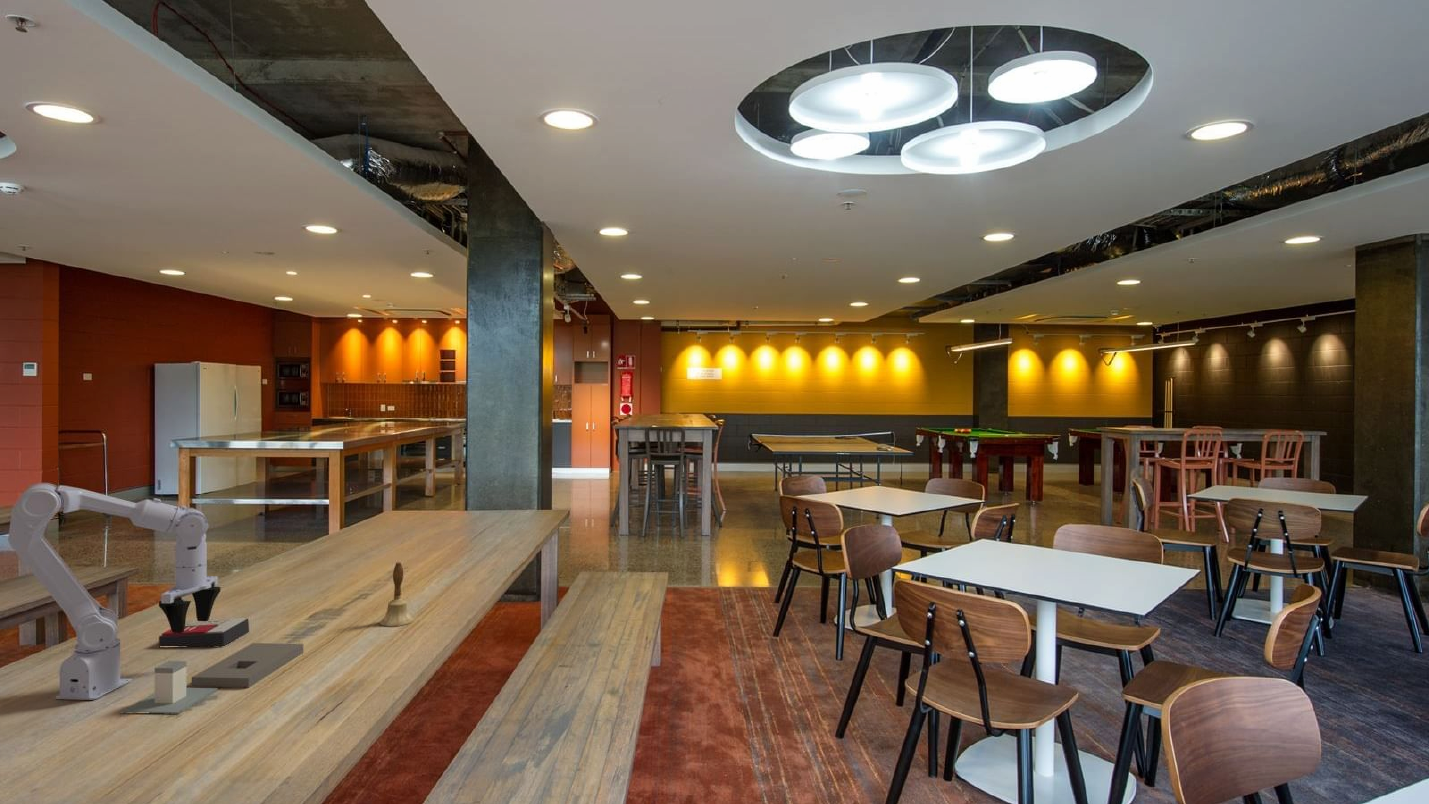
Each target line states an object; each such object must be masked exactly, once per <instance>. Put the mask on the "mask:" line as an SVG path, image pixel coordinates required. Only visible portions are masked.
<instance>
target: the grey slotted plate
mask: <svg viewBox="0 0 1429 804" xmlns="http://www.w3.org/2000/svg"><path fill="white" fill-rule="evenodd" d="M303 653H304V643H267V642H266V643H264V642H263V643H261V642H260V643H259V642H258V643H257V642H252V643H251V644H249V645H247V646H245V647H243V648H242V649H239V650H238V651H237V652H234V653H233V654H230V655H229V656H227V657H225V658H222V660H220V661H218V662H217V663H214V664H212V665H211V666H209V667H207V668H206V669H204V670H202V671H200V672H198V673H196V674H195V675H192V676H191V687H192V686H197V687H196V688H236V687H246V688H247V689H248V688H250V686H251V687H253V686H254V685H256V684H257V683H258V682H259V680H260V681H261V679H262V678H263V679H264V677H265V678H266V677H268V676H269V675H271V674H272V673H274V672H276V671H277V670H279V669H280V668H282V667H283V666H285V665H286V664H288V663H289V662H290V661H292V660H294V659H296V658H298V657H299V656H300V655H301V654H303ZM276 669H277V670H276ZM263 679H262V680H263ZM246 688H245V689H246Z"/></svg>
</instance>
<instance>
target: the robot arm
mask: <svg viewBox="0 0 1429 804" xmlns="http://www.w3.org/2000/svg"><path fill="white" fill-rule="evenodd" d="M60 509H63V511H62V512H63V514H67V513H71V512H76V511H80V510H86V511H90V512H91V511H93V512H97V513H102V514H107V515H112V516H113V515H114V516H119V517H124V518H129V519H130V521H131V523H132V525H133V526H136V527H138V528H139V527H140V528H144V529H149V530H155V531H158V532H162V533H169V534H170V533H175V534H176V535H175V537H176V538H175V545H174V586H172V587H171V588H170V589H169V590H167V591H166V592H164V593H162V594H161V596H160V599H161V600H159V601H158V607H159V608H160V609H161V610H162V612H163V613H164V615H165V616H166V619H167V621H168V624H169V626H170V629H171V630H172V633H182V632H184V629H185V622H186V619H187V613H188V610H189V608H190V607H189V606H190V605H191V603H192V601H191V600H184V597H187V596H190V595H191V596H192V598H193V601H194V605H195V606H194V607H195V615H196V620H198V621H208V620H210V616H211V613H212V609H213V607H214V604H215V601H216V599H217V598H218V596H219V594H220V592H221V588H222V587H221V586H218V585H219V577H218V576H217V575H216V576H215V575H214V576H213V575H212V576H211V575H208V574H207V573H208V572H207V570H208V568H207V567H208V565H207V564H208V563H207V562H208V561H207V560H208V557H207V556H208V555H207V554H208V553H207V551H208V550H207V547H208V546H207V545H208V544H207V542H206V540H207V534H206V533H207V531H208V529H209V526H210V524H209V523H208V519H207V518H206V516H205V513H203V512H202V511H200V510H199V509H196V508H193V507H187V506H186V505H180V506H176V505H172V504H168V503H164V502H162V499H159V498H156V497H153V499H144V500H141V501H139V502H133V501H129V500H125V499H122V498H118V497H113V496H111V495H107V494H103V493H99V492H95V491H91V490H88V489H84V488H79V487H74V486H69V485H61V484H60V485H59V486H57V485H56V484H52V483H50V482H38V483H35V484H32V485H30V486H29V487H26V489H25V490H24V491H23V492H22V493H21V495H20V496H19V498H18V499H17V500H16V502H15V504H14V506H13V507H12V509H11V510H10V511H11V514H10V522H9V529H8V538H7V541H8V544H9V546H10V547H11V548H12V549H13V550H14V551H15V553H16V554H17V556H18V557H19V558H20V559H21V561H23V563H25V565H26V567H27V568H28V569H29V570H30V572H32V574H33V575H34V576H35V577H36V579H37V580H38V582H40V584H41V585H42V586H43V588H45V590H46V591H47V593H48V594H49V595H50V596H51V597H52V598H53V599H54V601H55V602H56V603H57V605H58V606H59V607H60V609H61V610H62V611H63V613H64V614H65V615H66V617H67V619H68V621H69V623H70V625H71V627H72V628H73V629H74V631H75V633H76V642H77V644H75V645H74V650H73V652H72V653H71V655H70V656H69V657H67V658H66V659H64V660H63V661H62V663H61V665H60V666H59V667H60V668H59V695H56V696H55V699H56V700H77V701H78V700H80V701H81V700H84V701H85V700H87V701H93V700H96V699H99V698H100V697H103V696H104V695H107V694H109V693H110V692H112V691H115V690H116V689H119V688H120V687H122V686H124V685H126V684H129V683H130V682H131V681H132V678H121V639H120V638H118V637H117V636H118V627H117V625H118V617H117V614H116V613H115V612H114V611H113V610H111V609H108V608H106V607H104V606H102V605H101V603H100V602H99V601H98V600H97V599H95V598H94V597H93V596H92V595H91V594H90V593H89V592H88V590H87V589H86V588H85V586H84V585H83V584H82V582H81V581H80V580H79V579H78V577H77V576H76V575H75V573H74V572H73V571H72V570H71V568H70V567H69V566H68V565H67V563H66V562H65V561H64V560H63V559H62V558H63V557H61V556H60V554H59V553H58V552H57V550H56V549H55V548H54V547H53V545H52V544H51V543H50V542H49V540H48V539H47V538H46V537H45V536H44V534H45V530H46V529H47V526H48V524H49V522H50V520H51V519H52V518H53V517H55V515H56V514H57V513H58V512H59V510H60ZM182 598H183V599H182Z"/></svg>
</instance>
